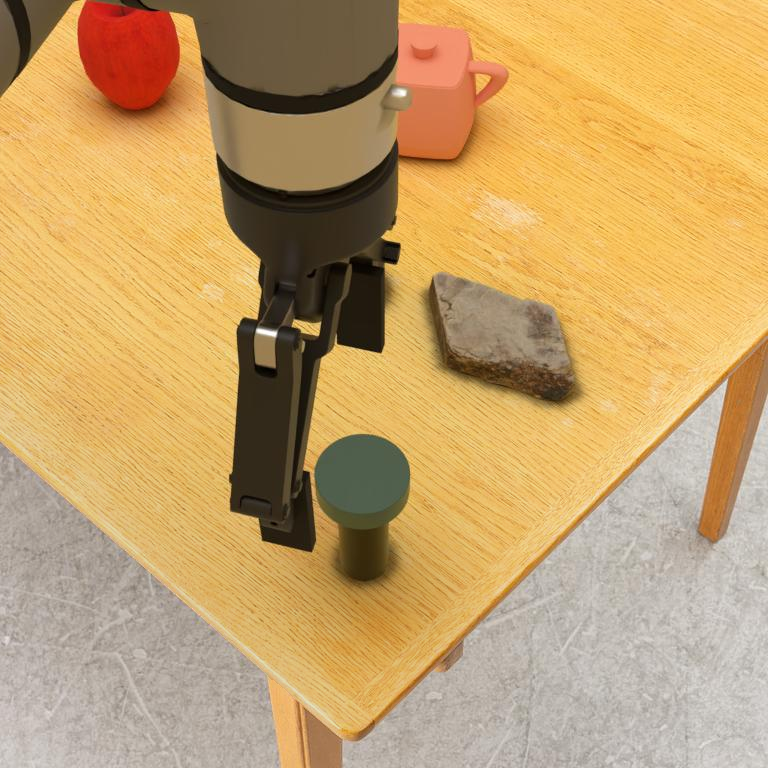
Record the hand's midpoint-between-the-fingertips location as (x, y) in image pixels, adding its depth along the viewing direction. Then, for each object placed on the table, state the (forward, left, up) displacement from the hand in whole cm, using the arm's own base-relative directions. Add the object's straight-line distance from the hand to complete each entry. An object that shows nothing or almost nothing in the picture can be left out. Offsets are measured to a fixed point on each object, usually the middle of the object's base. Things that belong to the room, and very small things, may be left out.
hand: (327, 436), depth 65 cm
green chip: (+2, +5, -14) cm, 16 cm away
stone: (+16, +24, -25) cm, 38 cm away
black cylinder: (+2, +5, -24) cm, 25 cm away
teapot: (+13, +53, -25) cm, 60 cm away
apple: (-14, +61, -25) cm, 68 cm away
